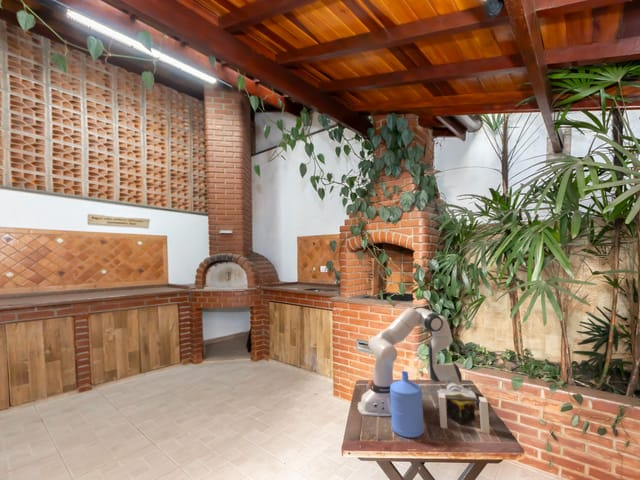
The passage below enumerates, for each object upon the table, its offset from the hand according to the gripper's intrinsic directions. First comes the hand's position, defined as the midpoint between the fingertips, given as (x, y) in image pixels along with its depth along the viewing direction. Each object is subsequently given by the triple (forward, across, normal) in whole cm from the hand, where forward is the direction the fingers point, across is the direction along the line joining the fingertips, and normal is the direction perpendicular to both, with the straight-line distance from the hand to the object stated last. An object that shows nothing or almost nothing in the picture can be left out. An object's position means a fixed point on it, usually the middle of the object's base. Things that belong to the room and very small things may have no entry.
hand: (458, 402), depth 166 cm
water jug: (+24, -27, +5) cm, 36 cm away
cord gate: (+16, 0, +5) cm, 17 cm away
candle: (+7, 0, +5) cm, 8 cm away
